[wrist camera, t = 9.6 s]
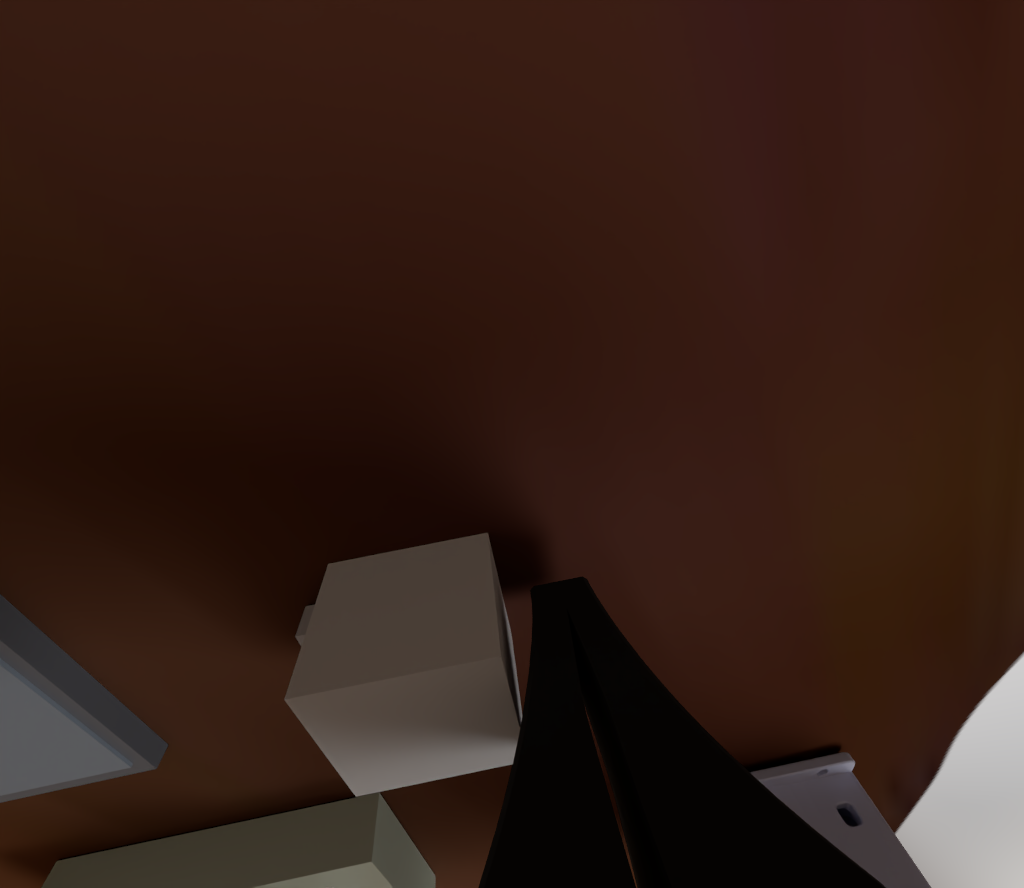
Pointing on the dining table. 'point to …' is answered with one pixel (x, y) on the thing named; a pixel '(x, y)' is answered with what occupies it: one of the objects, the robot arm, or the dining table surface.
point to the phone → (60, 718)
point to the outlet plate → (266, 854)
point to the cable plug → (409, 667)
